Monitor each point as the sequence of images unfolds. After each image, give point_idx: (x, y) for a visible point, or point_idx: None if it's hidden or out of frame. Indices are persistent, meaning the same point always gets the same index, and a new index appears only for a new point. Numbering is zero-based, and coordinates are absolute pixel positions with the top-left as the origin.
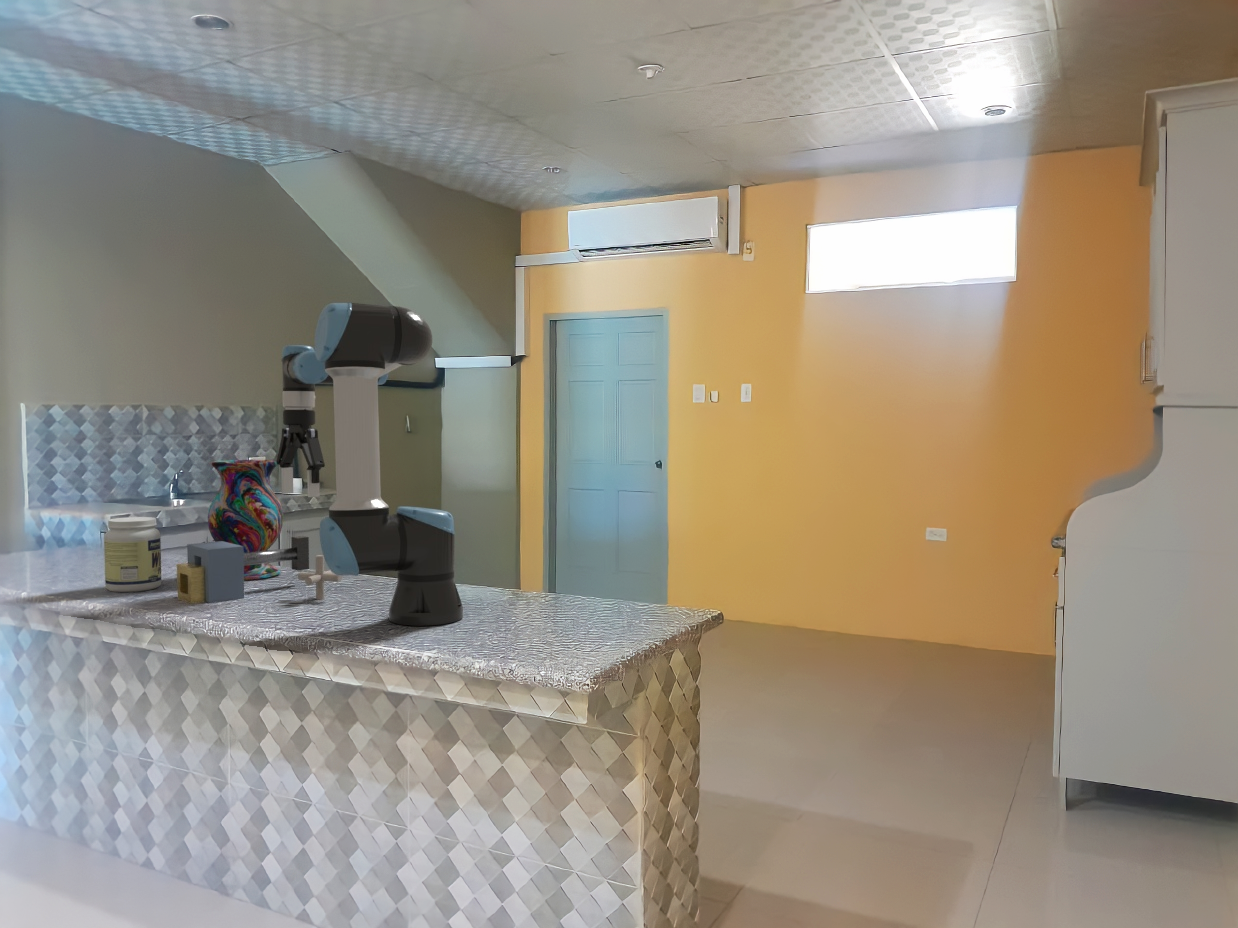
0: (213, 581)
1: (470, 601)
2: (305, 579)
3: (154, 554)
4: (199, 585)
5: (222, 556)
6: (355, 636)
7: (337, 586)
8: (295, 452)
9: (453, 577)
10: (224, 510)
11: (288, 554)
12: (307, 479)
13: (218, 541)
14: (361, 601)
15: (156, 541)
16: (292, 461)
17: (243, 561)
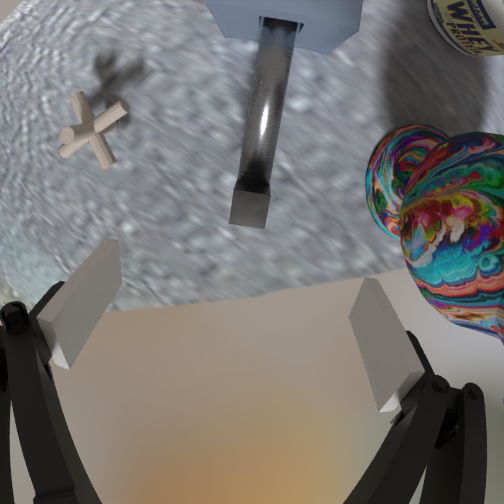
0: None
1: (8, 252)
2: (79, 92)
3: (463, 6)
4: None
5: None
6: None
7: (187, 211)
8: (348, 498)
9: None
10: (502, 146)
11: (241, 155)
12: (79, 287)
13: (357, 20)
14: (59, 162)
15: (482, 9)
16: (384, 440)
17: (213, 16)
